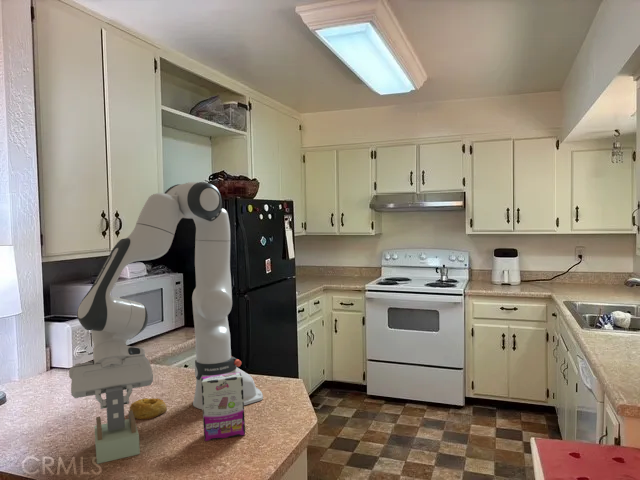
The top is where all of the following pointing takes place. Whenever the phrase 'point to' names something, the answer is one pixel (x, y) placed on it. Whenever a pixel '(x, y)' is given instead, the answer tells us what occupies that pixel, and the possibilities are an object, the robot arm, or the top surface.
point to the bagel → (148, 408)
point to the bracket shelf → (116, 440)
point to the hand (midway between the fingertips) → (115, 405)
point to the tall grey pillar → (115, 408)
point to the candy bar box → (223, 406)
